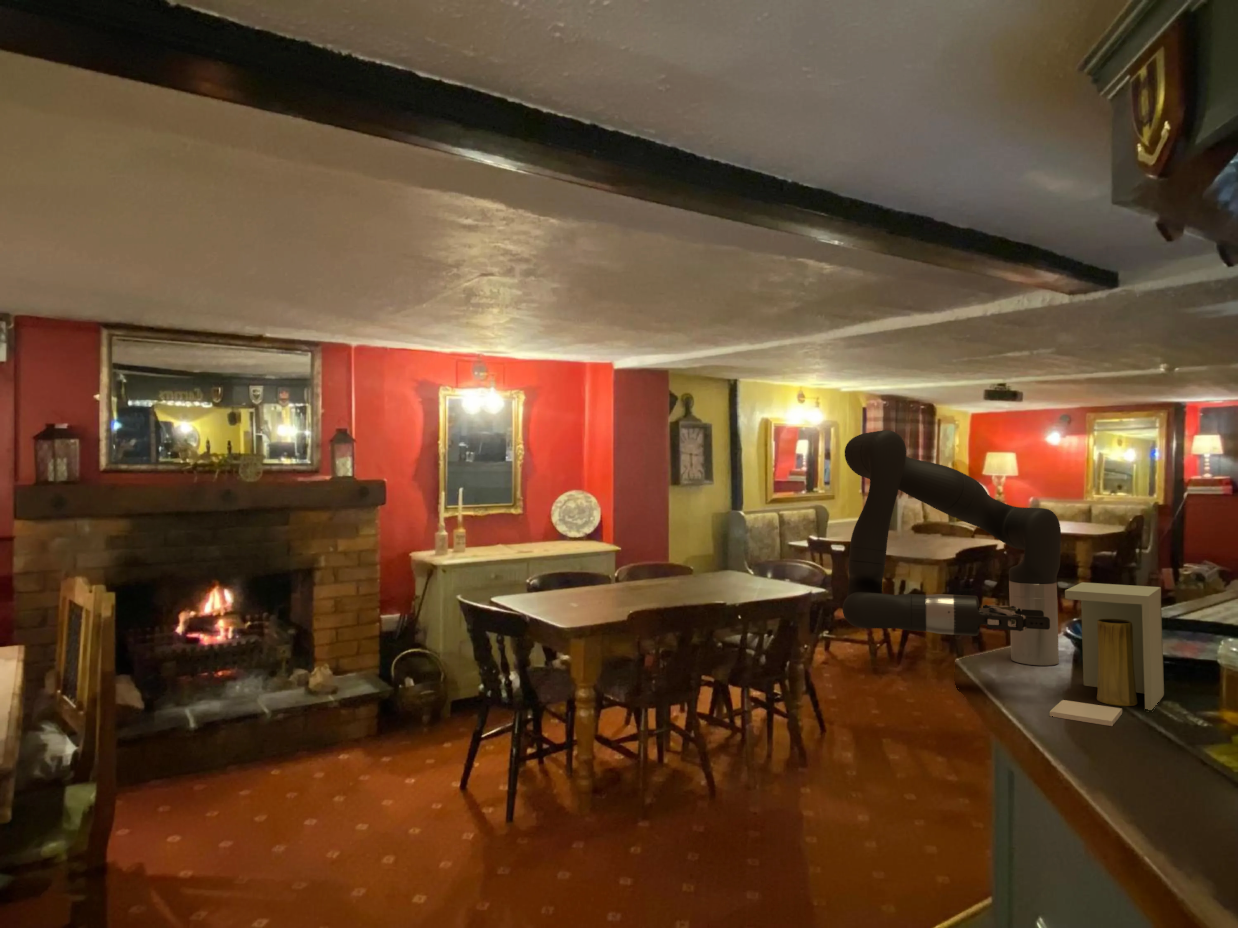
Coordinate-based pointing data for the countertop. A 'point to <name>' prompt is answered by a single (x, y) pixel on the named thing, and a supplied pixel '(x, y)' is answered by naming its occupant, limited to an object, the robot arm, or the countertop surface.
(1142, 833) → the countertop surface
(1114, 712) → the tile
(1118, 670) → the vase
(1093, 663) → the shelf nook
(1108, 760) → the countertop surface
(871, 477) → the robot arm
